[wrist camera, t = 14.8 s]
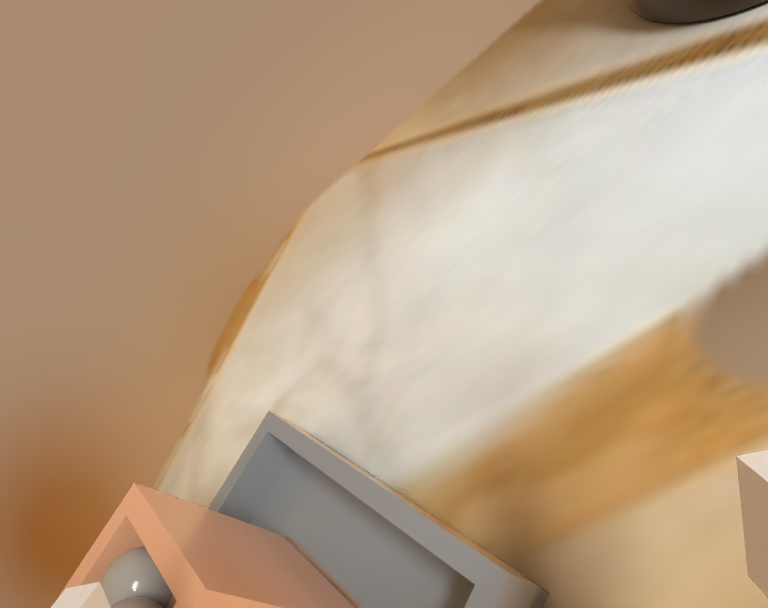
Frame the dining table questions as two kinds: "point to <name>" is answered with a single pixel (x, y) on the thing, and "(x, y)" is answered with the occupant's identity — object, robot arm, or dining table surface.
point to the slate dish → (363, 528)
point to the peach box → (201, 561)
